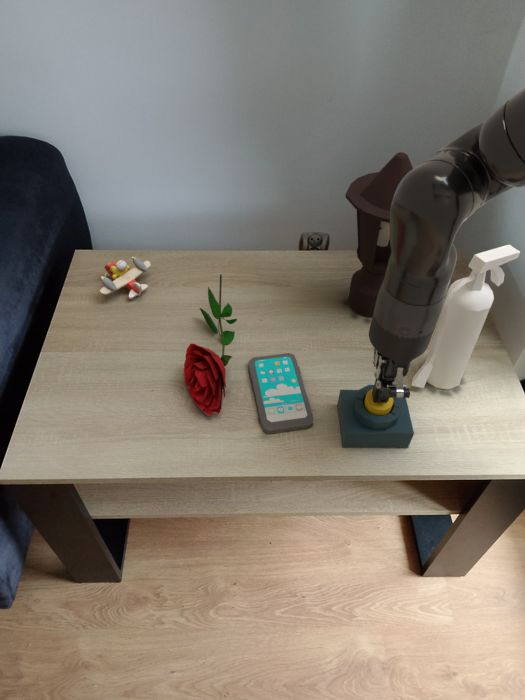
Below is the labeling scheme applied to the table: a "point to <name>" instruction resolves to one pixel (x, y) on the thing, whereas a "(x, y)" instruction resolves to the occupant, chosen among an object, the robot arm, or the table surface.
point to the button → (377, 405)
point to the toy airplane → (124, 277)
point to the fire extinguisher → (462, 320)
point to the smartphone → (280, 393)
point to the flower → (209, 362)
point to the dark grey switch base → (372, 422)
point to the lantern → (373, 230)
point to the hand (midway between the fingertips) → (379, 398)
